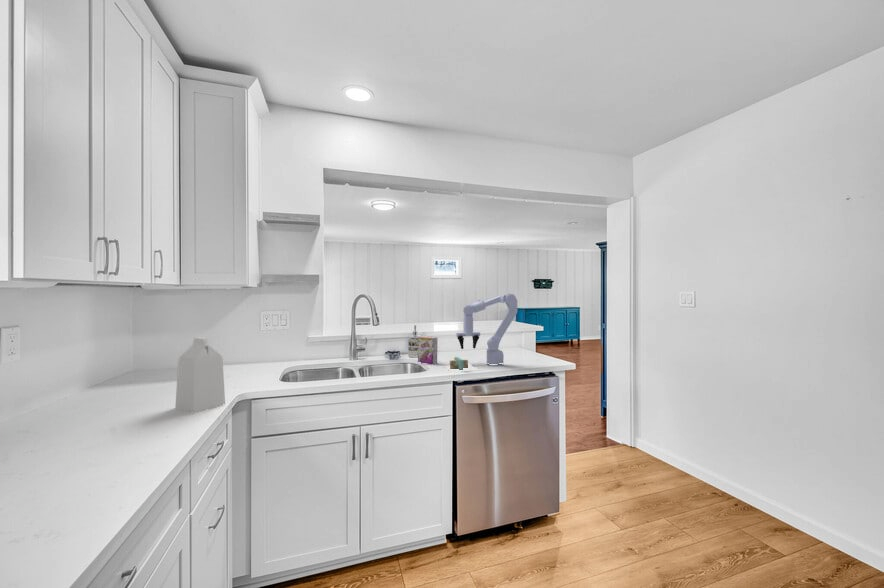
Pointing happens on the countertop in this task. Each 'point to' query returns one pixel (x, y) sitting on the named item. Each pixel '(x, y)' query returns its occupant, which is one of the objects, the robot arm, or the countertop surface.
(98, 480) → the countertop surface
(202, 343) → the milk
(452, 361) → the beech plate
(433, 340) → the candy bar box
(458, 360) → the light green flat block
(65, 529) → the countertop surface
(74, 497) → the countertop surface
